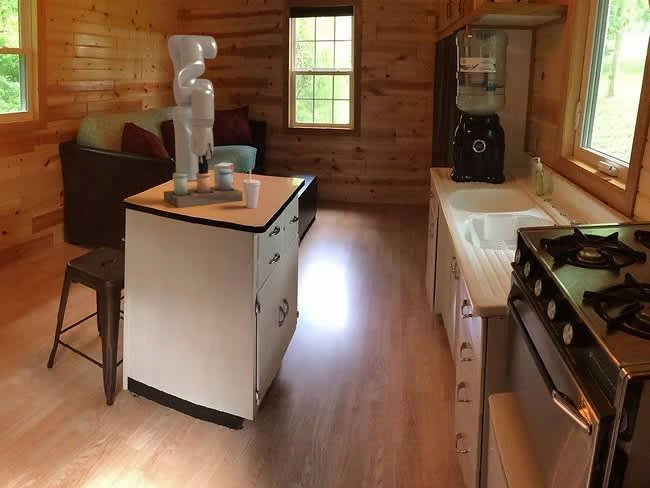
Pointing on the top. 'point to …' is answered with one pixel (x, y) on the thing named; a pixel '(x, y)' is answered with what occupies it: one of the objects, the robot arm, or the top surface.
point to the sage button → (180, 184)
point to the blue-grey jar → (224, 179)
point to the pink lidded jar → (203, 183)
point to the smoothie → (251, 192)
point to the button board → (202, 197)
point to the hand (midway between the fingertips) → (203, 173)
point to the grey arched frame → (224, 166)
